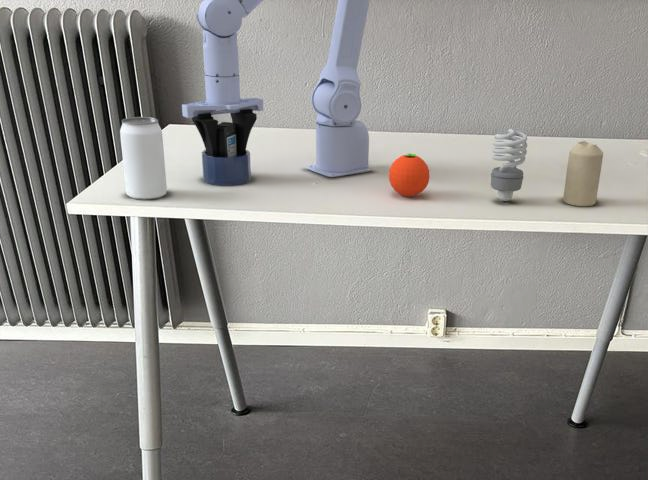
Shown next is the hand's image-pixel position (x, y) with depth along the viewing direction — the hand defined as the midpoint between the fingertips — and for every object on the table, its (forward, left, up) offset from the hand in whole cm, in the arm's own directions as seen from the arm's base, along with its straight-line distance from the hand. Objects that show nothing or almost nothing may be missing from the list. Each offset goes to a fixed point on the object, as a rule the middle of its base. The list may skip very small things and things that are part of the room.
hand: (226, 156), depth 146 cm
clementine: (-21, +25, -4) cm, 33 cm away
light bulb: (-32, +37, -4) cm, 49 cm away
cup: (0, 0, -4) cm, 4 cm away
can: (+16, +2, -4) cm, 17 cm away
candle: (-43, +44, -4) cm, 62 cm away
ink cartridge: (0, 0, -3) cm, 3 cm away
